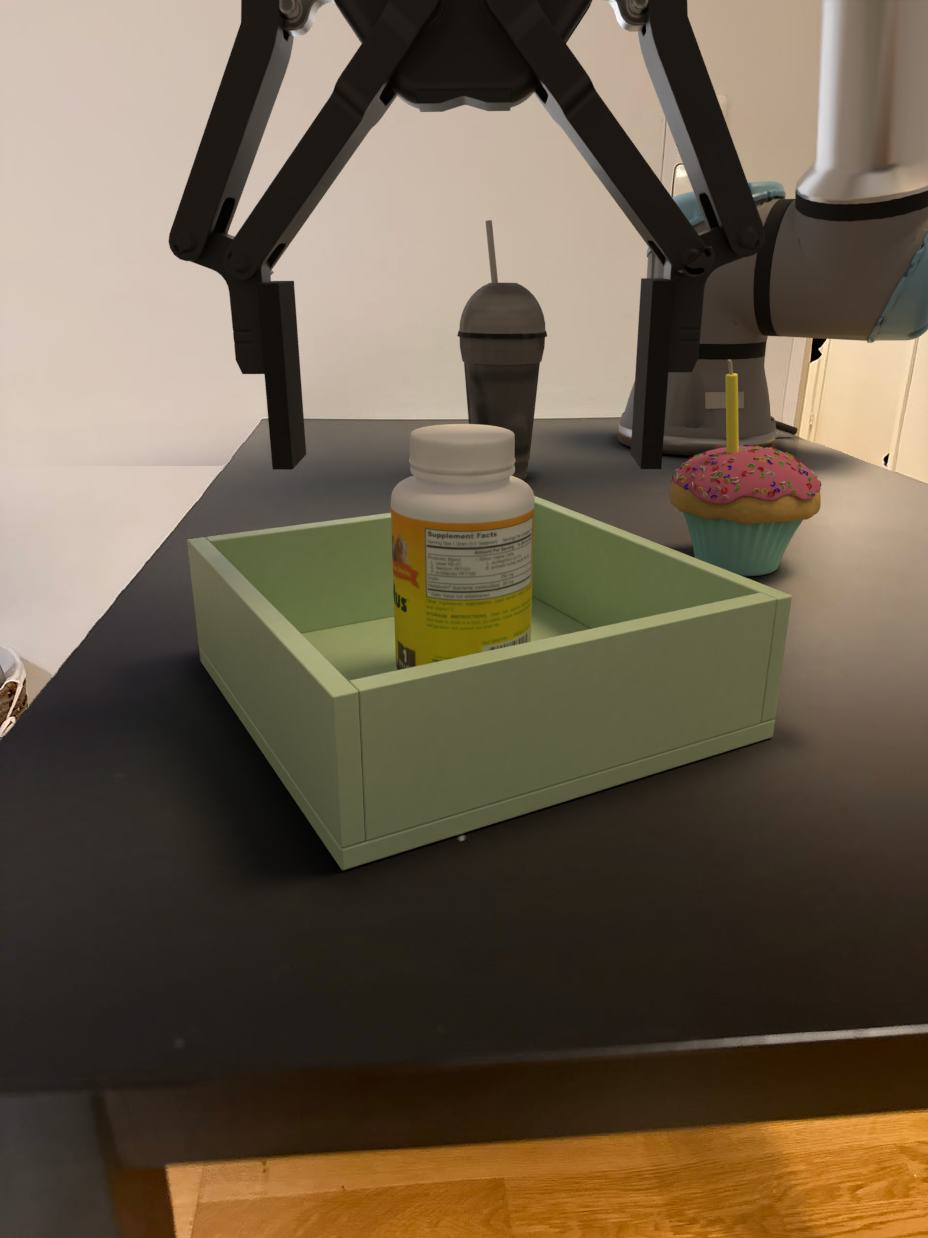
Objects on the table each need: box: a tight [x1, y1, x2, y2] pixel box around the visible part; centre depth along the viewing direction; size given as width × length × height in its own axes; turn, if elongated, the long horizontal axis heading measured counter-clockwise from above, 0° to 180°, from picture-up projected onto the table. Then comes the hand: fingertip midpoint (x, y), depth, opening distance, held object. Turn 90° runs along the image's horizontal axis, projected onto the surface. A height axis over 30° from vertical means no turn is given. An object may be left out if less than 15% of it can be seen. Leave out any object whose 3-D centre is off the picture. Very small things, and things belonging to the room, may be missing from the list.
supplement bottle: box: [390, 423, 535, 670], centre depth 36 cm, size 6×6×10 cm
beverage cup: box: [456, 219, 548, 481], centre depth 75 cm, size 7×7×20 cm
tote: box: [186, 495, 793, 871], centre depth 38 cm, size 18×18×6 cm
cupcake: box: [669, 360, 822, 577], centre depth 53 cm, size 9×8×12 cm
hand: (466, 462), depth 35 cm, fingers open, 13 cm apart
